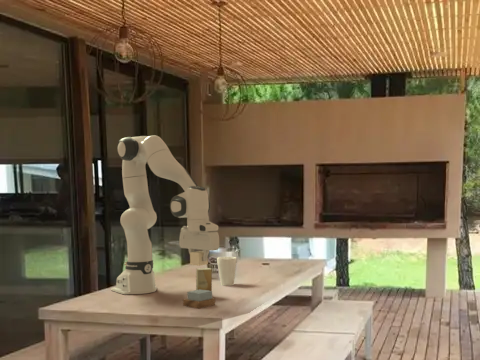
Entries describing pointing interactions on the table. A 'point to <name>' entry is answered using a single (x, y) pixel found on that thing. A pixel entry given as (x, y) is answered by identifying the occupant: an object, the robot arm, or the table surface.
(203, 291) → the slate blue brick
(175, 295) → the table surface
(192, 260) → the cream brick
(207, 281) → the skincare box
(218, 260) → the foam cup
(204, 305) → the walnut base brick
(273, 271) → the table surface
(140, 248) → the robot arm
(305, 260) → the table surface
